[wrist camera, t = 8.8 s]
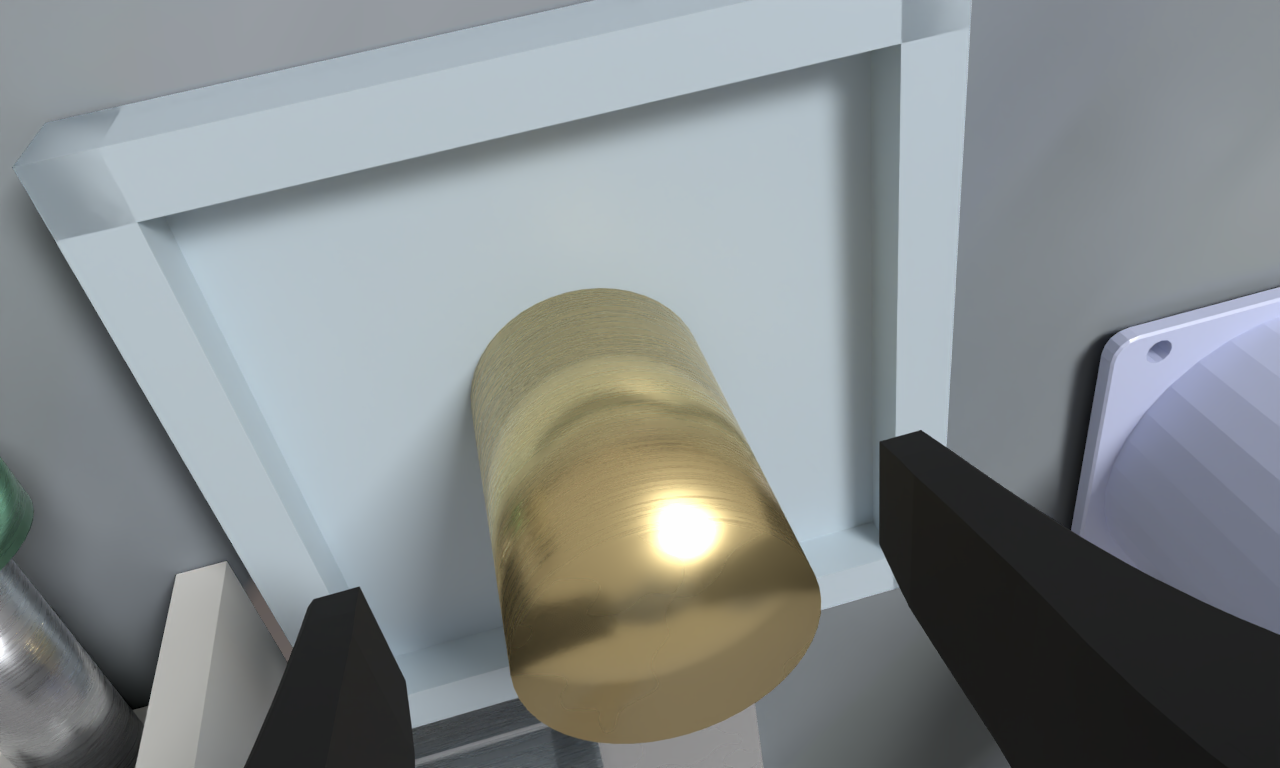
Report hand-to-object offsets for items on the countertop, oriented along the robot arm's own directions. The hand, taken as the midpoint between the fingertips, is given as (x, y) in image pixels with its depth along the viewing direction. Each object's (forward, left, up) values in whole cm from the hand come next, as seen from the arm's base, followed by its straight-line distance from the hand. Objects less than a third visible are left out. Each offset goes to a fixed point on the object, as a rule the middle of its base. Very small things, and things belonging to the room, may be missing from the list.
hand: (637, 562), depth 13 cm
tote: (0, 0, -5) cm, 5 cm away
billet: (0, 0, -4) cm, 4 cm away
